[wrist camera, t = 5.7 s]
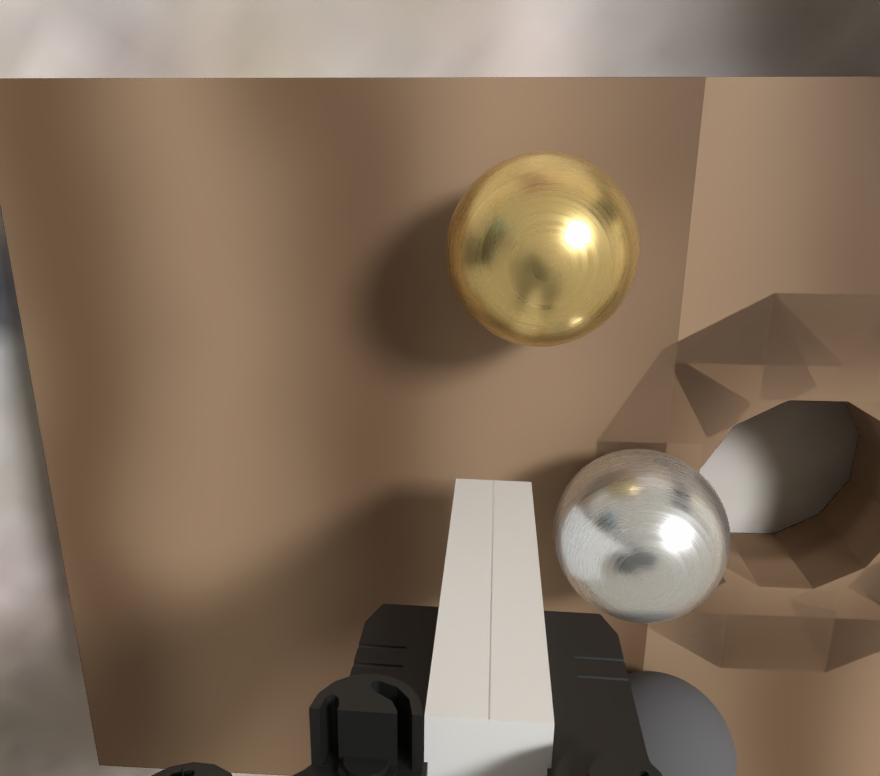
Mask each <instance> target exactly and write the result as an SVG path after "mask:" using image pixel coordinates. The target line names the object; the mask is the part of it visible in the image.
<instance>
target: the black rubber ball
mask: <svg viewBox="0 0 880 776" xmlns="http://www.w3.org/2000/svg"><path fill="white" fill-rule="evenodd" d="M628 681H629V682H630V686H631V690H632V694H633V698H634V702H635V706H636V710H637V714H638V718H639V722H640V726H641V730H642V735H643V739H644V743H645V747H646V751H647V755H648V757H649V760H650V762H651V764H652V765H653V766H655V767H656V768H657V769H658V770H659V771H660V772H661V774H662V776H737V758H736V750H735V746H734V742H733V739H732V736H731V733H730V730H729V728H728V726H727V724H726V722H725V720H724V718H723V717H722V715H721V714H720V712H719V711H718V709H717V708H716V706H715V705H714V704H713V703H712V702H711V701H710V700H709V698H708V697H706V696H705V695H704V694H703V693H702V692H701V691H700V690H699V689H697V688H696V687H694V686H693V685H691V684H690V683H688V682H686V681H685V680H683V679H680V678H678V677H676V676H673V675H670V674H666V673H662V672H656V671H639V672H632V673H628Z"/></svg>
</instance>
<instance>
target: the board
mask: <svg viewBox="0 0 880 776" xmlns="http://www.w3.org/2000/svg"><path fill="white" fill-rule="evenodd" d="M538 151H552V152H561V153H566V154H571V155H574V156H576V157H579V158H582V159H584V160H586V161H588V162H590V163H592V164H594V165H595V166H597V167H598V168H599V169H601V170H602V171H604V172H605V173H606V174H607V175H608V176H609V177H610V178H611V179H612V180H613V181H614V182H616V184H617V185H618V186H619V187H620V189H621V190H622V191H623V193H624V194H625V196H626V198H627V199H628V201H629V203H630V205H631V207H632V210H633V212H634V215H635V218H636V222H637V226H638V231H639V240H640V251H639V261H638V268H637V271H636V275H635V278H634V281H633V284H632V286H631V288H630V291H629V293H628V294H627V296H626V298H625V300H624V301H623V303H622V304H621V306H620V307H619V308H618V309H617V311H616V312H615V313H614V314H613V315H612V316H611V317H610V318H609V319H608V320H607V321H606V322H605V323H604V324H602V325H601V326H600V327H599V328H597V329H596V330H594V331H593V332H591V333H589V334H588V335H586V336H584V337H582V338H580V339H577V340H575V341H572V342H569V343H565V344H562V345H556V346H548V347H533V346H524V345H520V344H515V343H512V342H509V341H506V340H503V339H501V338H500V337H498V336H496V335H494V334H492V333H490V332H489V331H487V330H486V329H485V328H483V327H482V326H481V325H479V324H478V323H477V322H476V321H475V320H474V319H473V318H472V317H471V316H470V315H469V314H468V313H467V311H466V310H465V309H464V308H463V306H462V304H461V303H460V301H459V300H458V298H457V296H456V294H455V292H454V290H453V288H452V285H451V282H450V279H449V275H448V270H447V264H446V238H447V233H448V228H449V224H450V221H451V218H452V215H453V212H454V210H455V208H456V206H457V204H458V202H459V201H460V199H461V198H462V196H463V195H464V193H465V191H466V190H467V189H468V188H469V187H470V186H471V184H472V183H473V182H474V181H475V180H476V179H477V178H478V177H479V176H481V175H482V174H483V173H484V172H485V171H487V170H488V169H490V168H491V167H493V166H494V165H496V164H498V163H500V162H502V161H504V160H506V159H508V158H511V157H514V156H517V155H519V154H524V153H529V152H538ZM0 206H1V211H2V217H3V223H4V228H5V234H6V240H7V245H8V251H9V257H10V262H11V268H12V274H13V279H14V285H15V291H16V296H17V302H18V308H19V313H20V319H21V325H22V330H23V336H24V342H25V347H26V353H27V359H28V364H29V370H30V376H31V381H32V387H33V393H34V398H35V404H36V410H37V415H38V421H39V427H40V432H41V438H42V443H43V449H44V455H45V460H46V466H47V472H48V477H49V483H50V489H51V494H52V500H53V506H54V511H55V517H56V523H57V528H58V534H59V540H60V545H61V551H62V557H63V562H64V568H65V574H66V579H67V585H68V591H69V596H70V602H71V608H72V613H73V619H74V625H75V630H76V636H77V642H78V647H79V653H80V659H81V664H82V670H83V676H84V681H85V687H86V693H87V698H88V704H89V710H90V715H91V721H92V727H93V732H94V738H95V744H96V749H97V755H98V761H99V765H106V766H124V767H142V768H160V769H166V768H168V767H171V766H175V765H180V764H186V763H191V762H199V763H208V764H215V765H217V766H219V767H221V768H223V769H224V770H226V771H228V772H231V773H249V774H267V775H285V776H293V775H295V774H296V773H298V772H300V771H302V770H304V769H306V768H307V767H308V766H310V765H311V743H310V722H309V707H310V705H311V704H312V702H313V701H314V699H315V697H316V696H317V694H318V693H319V692H320V691H322V690H323V689H325V688H326V687H327V686H329V685H330V684H331V683H333V682H334V681H337V680H340V679H343V678H346V677H349V676H350V673H351V669H352V667H353V664H354V659H355V655H356V652H357V648H359V641H360V638H361V634H362V631H363V627H364V624H365V621H366V620H367V619H368V618H369V617H370V616H371V615H372V614H373V613H374V612H375V611H376V610H377V609H378V608H379V607H380V606H381V605H382V604H399V605H417V606H434V607H439V603H440V595H441V588H442V580H443V573H444V565H445V558H446V550H447V543H448V535H449V528H450V520H451V513H452V505H453V498H454V490H455V483H456V479H478V480H500V481H522V482H531V483H532V494H533V504H534V515H535V525H536V536H537V546H538V556H539V567H540V577H541V588H542V598H543V609H544V611H560V612H577V613H595V614H601V615H602V617H603V618H604V619H605V620H606V621H607V622H608V624H609V625H610V626H611V627H612V628H613V629H614V630H615V632H616V633H617V634H618V637H619V641H620V645H621V649H622V653H623V657H624V662H625V665H626V669H627V673H632V672H639V671H656V672H662V673H666V674H670V675H673V676H676V677H678V678H680V679H683V680H685V681H686V682H688V683H690V684H691V685H693V686H694V687H696V688H697V689H699V690H700V691H701V692H702V693H703V694H704V695H705V696H706V697H708V698H709V700H710V701H711V702H712V703H713V704H714V705H715V706H716V708H717V709H718V711H719V712H720V714H721V715H722V717H723V718H724V720H725V722H726V724H727V726H728V728H729V730H730V733H731V736H732V739H733V742H734V746H735V750H736V758H737V776H880V77H468V78H18V79H0ZM788 400H806V401H845V402H846V404H847V406H848V409H849V411H850V413H851V415H852V418H853V420H854V422H855V424H856V427H857V429H858V431H859V437H858V442H857V448H856V453H855V458H854V463H853V468H852V474H851V478H850V479H849V480H848V482H847V483H846V484H845V485H844V486H843V487H842V489H841V490H840V491H839V492H838V493H837V494H836V496H835V497H834V498H833V499H832V500H831V501H830V503H829V504H828V505H827V506H826V507H825V508H824V509H823V511H822V512H821V513H820V514H819V515H817V516H815V517H812V518H810V519H808V520H805V521H803V522H801V523H798V524H796V525H794V526H791V527H789V528H787V529H785V530H782V531H780V532H778V533H775V534H756V533H730V537H731V543H730V555H729V559H728V563H727V566H726V569H725V572H724V574H723V576H722V579H721V580H720V582H719V584H718V585H717V587H716V588H715V589H714V591H713V592H712V593H711V594H710V596H709V597H708V598H707V599H706V600H705V601H704V602H703V603H702V604H701V605H699V606H698V607H696V608H695V609H694V610H692V611H690V612H688V613H687V614H685V615H682V616H680V617H677V618H675V619H672V620H668V621H664V622H658V623H635V622H629V621H624V620H621V619H617V618H614V617H612V616H609V615H607V614H605V613H603V612H601V611H600V610H598V609H596V608H595V607H594V606H592V605H591V604H589V603H588V602H587V601H585V600H584V599H583V598H582V597H581V596H580V595H579V594H578V593H577V592H576V590H575V589H574V588H573V587H572V585H571V584H570V583H569V581H568V580H567V578H566V576H565V575H564V573H563V571H562V569H561V566H560V564H559V561H558V558H557V555H556V552H555V546H554V538H553V524H554V518H555V512H556V508H557V505H558V502H559V500H560V498H561V495H562V493H563V491H564V490H565V488H566V487H567V485H568V484H569V482H570V481H571V479H572V478H573V477H574V476H575V475H576V474H577V473H578V472H579V471H580V470H581V469H582V468H584V467H585V466H586V465H588V464H589V463H591V462H592V461H594V460H595V459H597V458H599V457H601V456H603V455H606V454H609V453H612V452H615V451H620V450H625V449H649V450H656V451H659V452H663V453H666V454H669V455H672V456H674V457H676V458H679V459H681V460H682V461H684V462H686V463H688V464H689V465H690V466H692V467H693V468H694V469H696V470H697V471H698V472H699V470H700V469H701V467H702V466H703V465H704V464H705V462H706V461H707V460H708V458H709V457H710V456H711V455H712V453H713V452H714V451H715V449H716V448H717V447H718V446H719V444H720V443H721V442H722V440H723V439H724V438H725V437H726V435H727V434H728V433H729V431H730V430H731V429H732V428H733V426H735V425H737V424H739V423H741V422H743V421H745V420H747V419H749V418H752V417H754V416H756V415H758V414H760V413H762V412H764V411H767V410H769V409H771V408H773V407H775V406H777V405H779V404H781V403H784V402H786V401H788Z"/></svg>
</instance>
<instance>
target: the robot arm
mask: <svg viewBox="0 0 880 776" xmlns="http://www.w3.org/2000/svg"><path fill="white" fill-rule="evenodd" d="M309 722H310V743H311V765H310V766H308V767H307V768H306V769H304V770H302V771H300V772H298V773H296V774H295V775H293V776H662V774H661V772H660V771H659V770H658V769H657V768H656V767H655V766H653V765H652V764H651V762H650V760H649V757H648V755H647V751H646V747H645V743H644V739H643V735H642V730H641V726H640V722H639V718H638V714H637V710H636V706H635V702H634V698H633V694H632V690H631V686H630V682H629V681H628V673H627V669H626V665H625V662H624V657H623V653H622V649H621V645H620V641H619V637H618V634H617V633H616V632H615V630H614V629H613V628H612V627H611V626H610V625H609V624H608V622H607V621H606V620H605V619H604V618H603V617H602V615H601V614H595V613H577V612H560V611H544V609H543V598H542V588H541V577H540V567H539V556H538V546H537V536H536V525H535V515H534V504H533V494H532V483H531V482H522V481H500V480H478V479H456V483H455V490H454V498H453V505H452V513H451V520H450V528H449V535H448V543H447V550H446V558H445V565H444V573H443V580H442V588H441V595H440V603H439V607H434V606H417V605H399V604H382V605H381V606H380V607H379V608H378V609H377V610H376V611H375V612H374V613H373V614H372V615H371V616H370V617H369V618H368V619H367V620H366V621H365V624H364V627H363V631H362V634H361V638H360V641H359V648H357V652H356V655H355V659H354V664H353V667H352V669H351V673H350V676H349V677H346V678H343V679H340V680H337V681H334V682H333V683H331V684H330V685H329V686H327V687H326V688H325V689H323V690H322V691H320V692H319V693H318V694H317V696H316V697H315V699H314V701H313V702H312V704H311V705H310V707H309ZM152 776H232V774H231V773H230V772H228V771H226V770H224V769H223V768H221V767H219V766H217V765H215V764H208V763H199V762H191V763H186V764H180V765H175V766H171V767H168V768H166V769H164V770H162V771H160V772H158V773H156V774H154V775H152Z"/></svg>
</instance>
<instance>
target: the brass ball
mask: <svg viewBox="0 0 880 776" xmlns="http://www.w3.org/2000/svg"><path fill="white" fill-rule="evenodd" d="M639 251H640V240H639V231H638V226H637V222H636V218H635V215H634V212H633V210H632V207H631V205H630V203H629V201H628V199H627V198H626V196H625V194H624V193H623V191H622V190H621V189H620V187H619V186H618V185H617V184H616V182H614V181H613V180H612V179H611V178H610V177H609V176H608V175H607V174H606V173H605V172H604V171H602V170H601V169H599V168H598V167H597V166H595V165H594V164H592V163H590V162H588V161H586V160H584V159H582V158H579V157H576V156H574V155H571V154H566V153H561V152H552V151H538V152H529V153H524V154H519V155H517V156H514V157H511V158H508V159H506V160H504V161H502V162H500V163H498V164H496V165H494V166H493V167H491V168H490V169H488V170H487V171H485V172H484V173H483V174H482V175H481V176H479V177H478V178H477V179H476V180H475V181H474V182H473V183H472V184H471V186H470V187H469V188H468V189H467V190H466V191H465V193H464V195H463V196H462V198H461V199H460V201H459V202H458V204H457V206H456V208H455V210H454V212H453V215H452V218H451V221H450V224H449V228H448V233H447V238H446V264H447V270H448V275H449V279H450V282H451V285H452V288H453V290H454V292H455V294H456V296H457V298H458V300H459V301H460V303H461V304H462V306H463V308H464V309H465V310H466V311H467V313H468V314H469V315H470V316H471V317H472V318H473V319H474V320H475V321H476V322H477V323H478V324H479V325H481V326H482V327H483V328H485V329H486V330H487V331H489V332H490V333H492V334H494V335H496V336H498V337H500V338H501V339H503V340H506V341H509V342H512V343H515V344H520V345H524V346H533V347H548V346H556V345H562V344H565V343H569V342H572V341H575V340H577V339H580V338H582V337H584V336H586V335H588V334H589V333H591V332H593V331H594V330H596V329H597V328H599V327H600V326H601V325H602V324H604V323H605V322H606V321H607V320H608V319H609V318H610V317H611V316H612V315H613V314H614V313H615V312H616V311H617V309H618V308H619V307H620V306H621V304H622V303H623V301H624V300H625V298H626V296H627V294H628V293H629V291H630V288H631V286H632V284H633V281H634V278H635V275H636V271H637V268H638V261H639Z"/></svg>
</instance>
